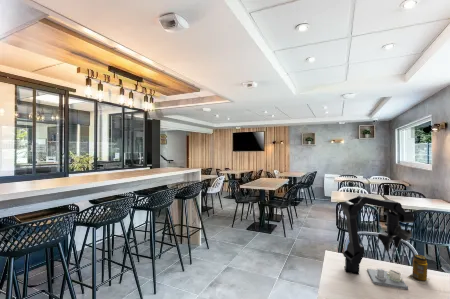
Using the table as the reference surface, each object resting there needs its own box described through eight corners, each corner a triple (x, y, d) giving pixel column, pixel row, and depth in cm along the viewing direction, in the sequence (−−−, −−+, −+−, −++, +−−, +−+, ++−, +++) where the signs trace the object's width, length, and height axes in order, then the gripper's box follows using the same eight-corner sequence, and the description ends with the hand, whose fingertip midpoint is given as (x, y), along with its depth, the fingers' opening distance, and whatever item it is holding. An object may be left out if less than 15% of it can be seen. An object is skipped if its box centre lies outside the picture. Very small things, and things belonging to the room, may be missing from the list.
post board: (373, 283, 121) (373, 273, 121) (366, 270, 134) (367, 261, 133) (408, 289, 117) (408, 278, 116) (397, 275, 129) (398, 265, 129)
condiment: (429, 279, 125) (430, 257, 125) (424, 284, 121) (425, 262, 120) (413, 272, 131) (414, 252, 131) (407, 277, 127) (408, 256, 126)
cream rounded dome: (384, 275, 126) (384, 269, 126) (389, 273, 129) (389, 267, 129) (399, 282, 120) (400, 276, 120) (405, 280, 122) (405, 274, 122)
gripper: (399, 230, 122) (398, 259, 122) (418, 224, 130) (417, 252, 131) (377, 223, 132) (376, 250, 132) (396, 218, 140) (395, 244, 141)
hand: (392, 249), depth 134 cm, fingers open, 9 cm apart
